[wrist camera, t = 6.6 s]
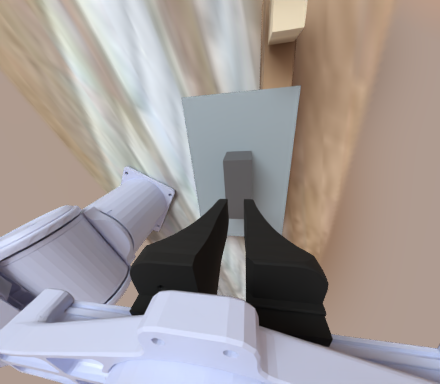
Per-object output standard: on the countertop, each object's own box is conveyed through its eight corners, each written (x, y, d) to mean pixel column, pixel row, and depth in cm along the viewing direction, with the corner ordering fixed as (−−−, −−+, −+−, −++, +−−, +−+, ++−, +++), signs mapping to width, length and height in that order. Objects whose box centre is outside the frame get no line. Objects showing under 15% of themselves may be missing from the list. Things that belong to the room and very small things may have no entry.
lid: (279, 228, 22) (286, 257, 18) (206, 225, 23) (197, 252, 19) (294, 87, 14) (314, 80, 10) (187, 98, 16) (166, 96, 12)
